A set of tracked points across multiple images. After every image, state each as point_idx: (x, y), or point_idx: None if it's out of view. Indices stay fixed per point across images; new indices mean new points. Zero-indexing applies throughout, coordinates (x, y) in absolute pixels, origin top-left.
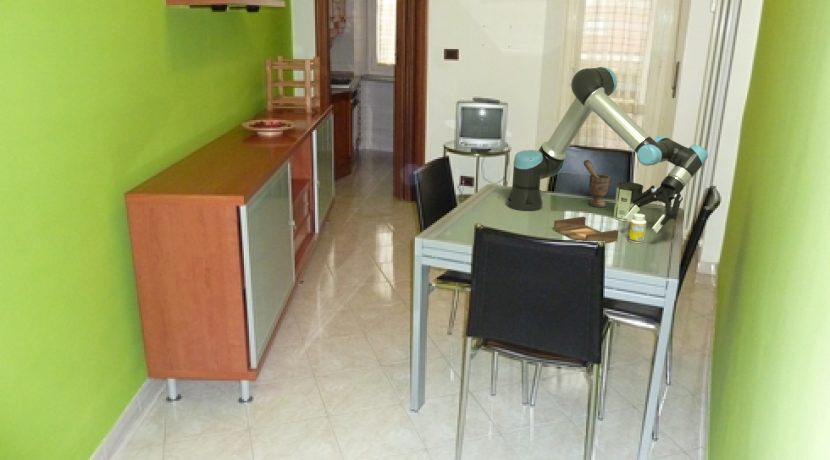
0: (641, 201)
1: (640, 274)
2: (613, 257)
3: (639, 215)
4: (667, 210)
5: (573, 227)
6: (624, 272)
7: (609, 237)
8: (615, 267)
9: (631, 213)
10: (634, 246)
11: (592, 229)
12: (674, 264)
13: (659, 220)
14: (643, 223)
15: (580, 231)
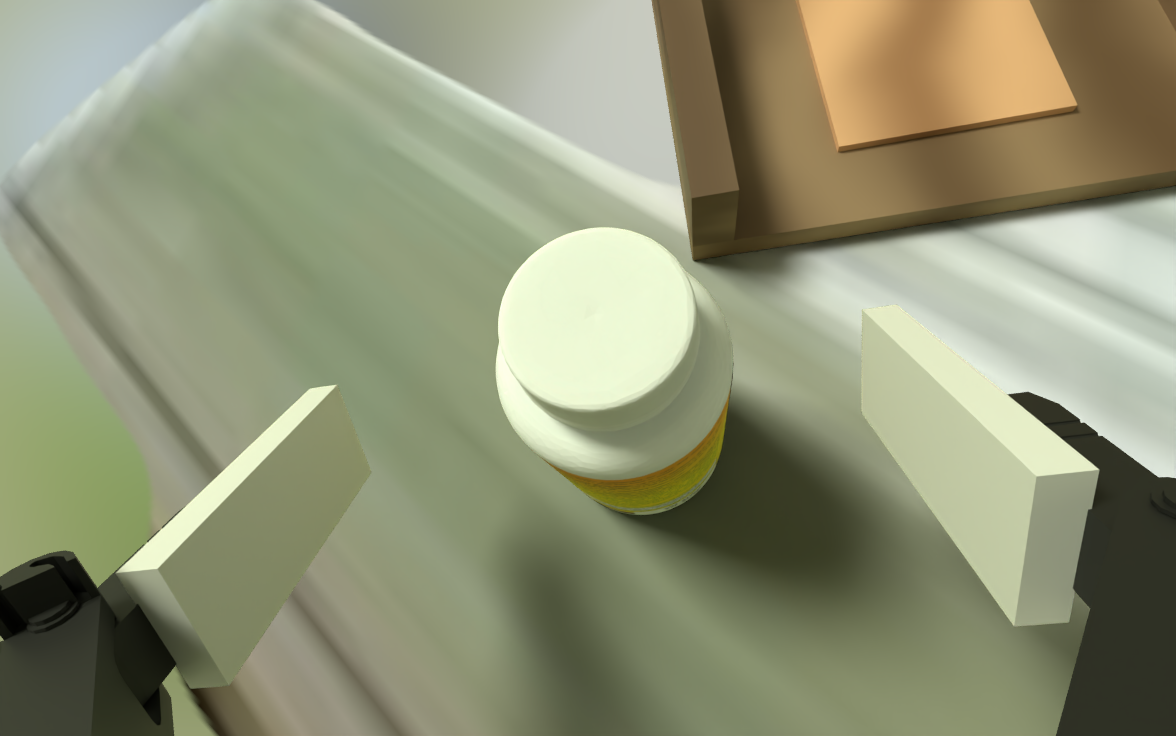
0: (1094, 615)
1: (127, 80)
2: (398, 63)
3: (569, 299)
4: (26, 692)
5: (1138, 19)
6: (194, 18)
7: (677, 138)
8: (270, 5)
9: (914, 393)
10: None
11: (1044, 160)
12: (94, 381)
13: (232, 472)
14: (496, 362)
15: (966, 18)
